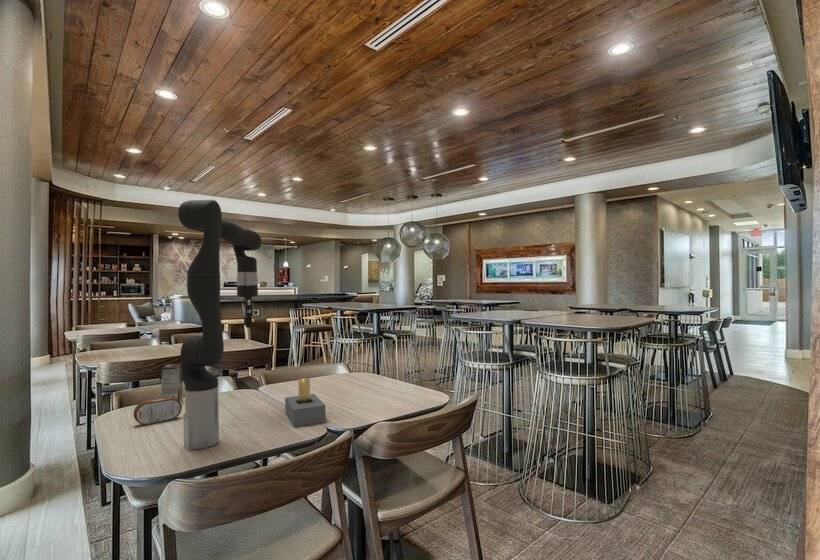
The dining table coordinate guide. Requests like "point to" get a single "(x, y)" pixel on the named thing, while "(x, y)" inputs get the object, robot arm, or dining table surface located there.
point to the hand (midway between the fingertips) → (248, 326)
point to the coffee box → (172, 381)
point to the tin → (157, 410)
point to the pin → (304, 390)
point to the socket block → (305, 411)
